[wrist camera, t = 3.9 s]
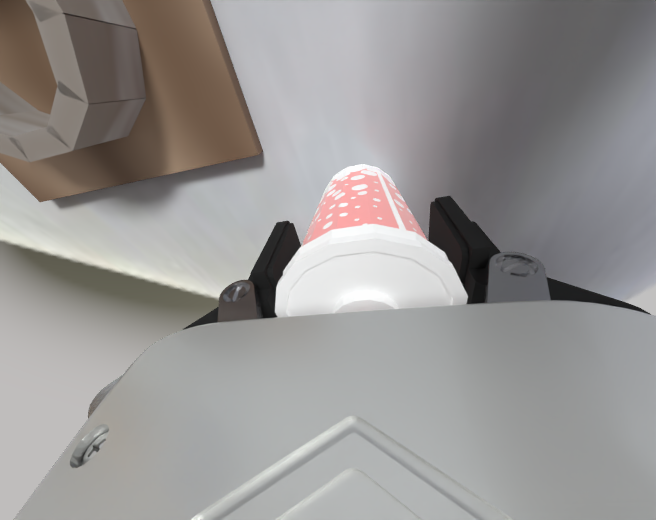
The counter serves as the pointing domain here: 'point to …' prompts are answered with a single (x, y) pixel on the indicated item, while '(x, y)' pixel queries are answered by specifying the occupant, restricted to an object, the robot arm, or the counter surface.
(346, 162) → the counter surface
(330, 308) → the beverage cup
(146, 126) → the coaster board
